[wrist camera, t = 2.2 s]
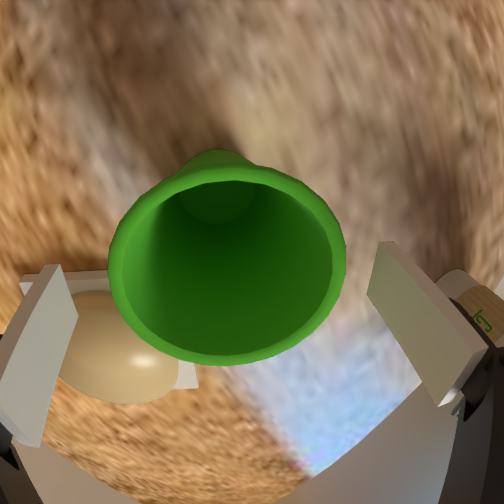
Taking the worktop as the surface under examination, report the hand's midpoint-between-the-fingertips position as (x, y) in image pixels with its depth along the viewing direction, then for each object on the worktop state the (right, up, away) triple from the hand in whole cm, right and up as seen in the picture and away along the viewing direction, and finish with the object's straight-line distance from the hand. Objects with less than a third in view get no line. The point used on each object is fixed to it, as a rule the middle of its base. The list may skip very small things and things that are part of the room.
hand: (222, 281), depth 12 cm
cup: (-1, +6, +9) cm, 10 cm away
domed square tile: (-11, -6, +14) cm, 19 cm away
